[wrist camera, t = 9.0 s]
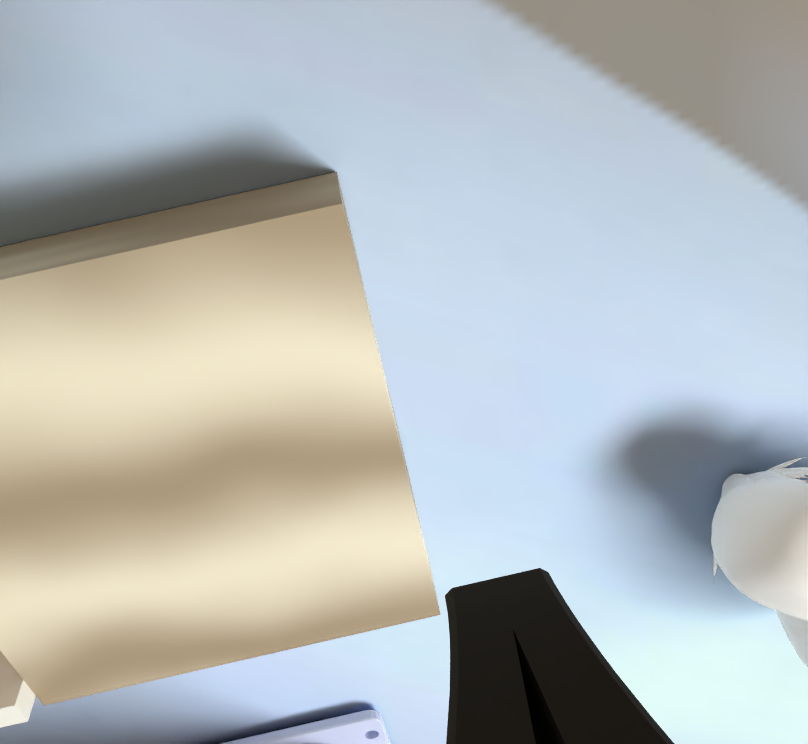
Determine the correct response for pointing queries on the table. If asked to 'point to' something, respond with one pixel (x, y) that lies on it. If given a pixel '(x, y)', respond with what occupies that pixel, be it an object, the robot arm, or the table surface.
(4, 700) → the tray
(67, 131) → the table surface
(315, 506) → the thin cream square panel
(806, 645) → the white figurine
